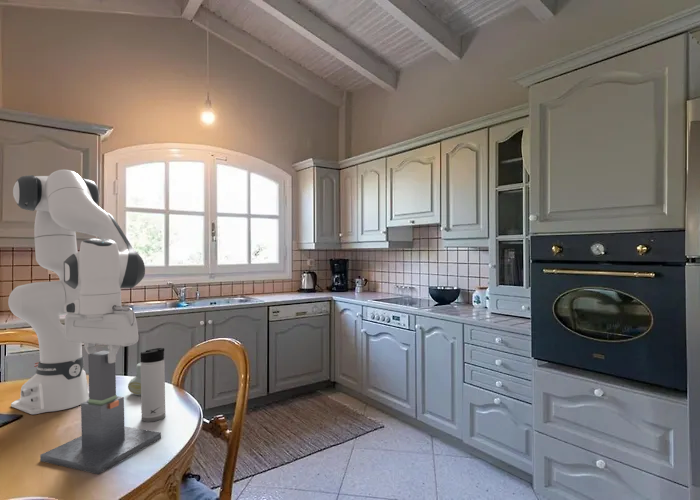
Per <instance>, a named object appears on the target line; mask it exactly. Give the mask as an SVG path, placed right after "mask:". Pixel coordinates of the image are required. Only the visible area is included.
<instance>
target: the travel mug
mask: <svg viewBox="0 0 700 500" xmlns="http://www.w3.org/2000/svg"><path fill="white" fill-rule="evenodd" d="M139 355H140V362H139V363H141V364H140V366H141V396H140V406H141V408H140V410H141V412H140V413H141V421H143V422H145V423H146V422H147V423H153V422H156V421H160V420H162V419H163V418H165V417H166V386H165V385H166V381H165V380H166V377H165V375H166V374H165V372H166V369H165V348H164V347H158V348H152V349H147V350H145V351H143V352H140V354H139Z"/></svg>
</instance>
